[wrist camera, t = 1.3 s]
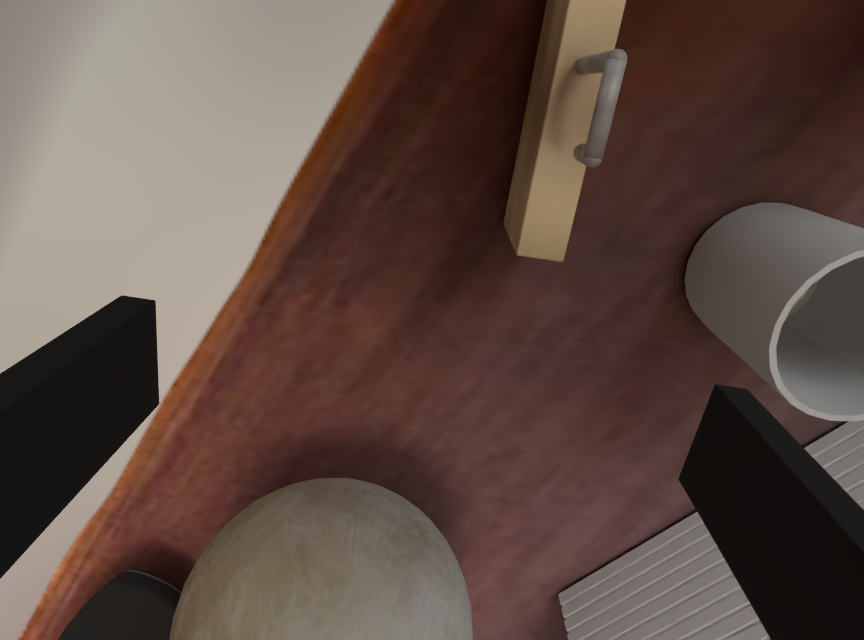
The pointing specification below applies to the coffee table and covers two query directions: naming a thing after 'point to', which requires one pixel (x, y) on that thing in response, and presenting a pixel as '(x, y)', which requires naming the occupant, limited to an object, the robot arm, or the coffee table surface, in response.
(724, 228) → the cup
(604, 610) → the stack of papers
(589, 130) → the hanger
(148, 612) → the computer mouse
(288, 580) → the decorative sphere
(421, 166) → the coffee table surface
